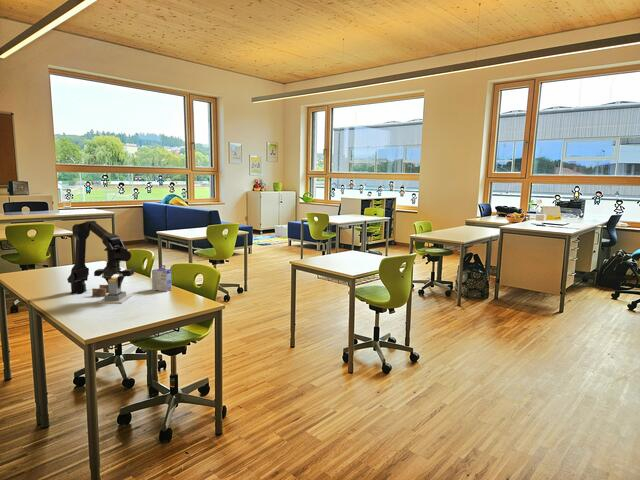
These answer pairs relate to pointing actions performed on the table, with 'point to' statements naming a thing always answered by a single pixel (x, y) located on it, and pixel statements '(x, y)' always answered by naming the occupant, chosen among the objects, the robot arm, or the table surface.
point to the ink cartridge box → (161, 279)
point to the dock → (115, 298)
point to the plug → (113, 286)
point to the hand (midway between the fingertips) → (115, 288)
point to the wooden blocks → (100, 290)
